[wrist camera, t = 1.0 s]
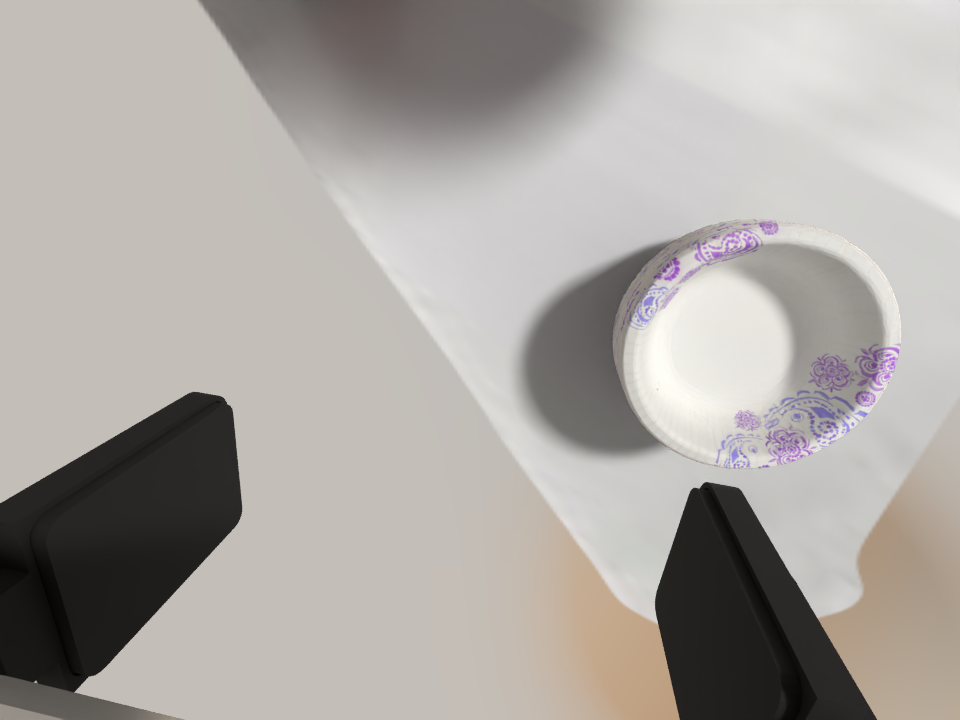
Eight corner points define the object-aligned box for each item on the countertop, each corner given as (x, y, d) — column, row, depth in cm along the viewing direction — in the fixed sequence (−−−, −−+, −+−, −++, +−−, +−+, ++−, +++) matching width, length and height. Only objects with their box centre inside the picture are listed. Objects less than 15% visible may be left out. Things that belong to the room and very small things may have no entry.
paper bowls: (685, 174, 32) (725, 170, 24) (880, 280, 32) (976, 309, 25) (569, 359, 37) (572, 402, 30) (736, 448, 38) (780, 511, 31)
